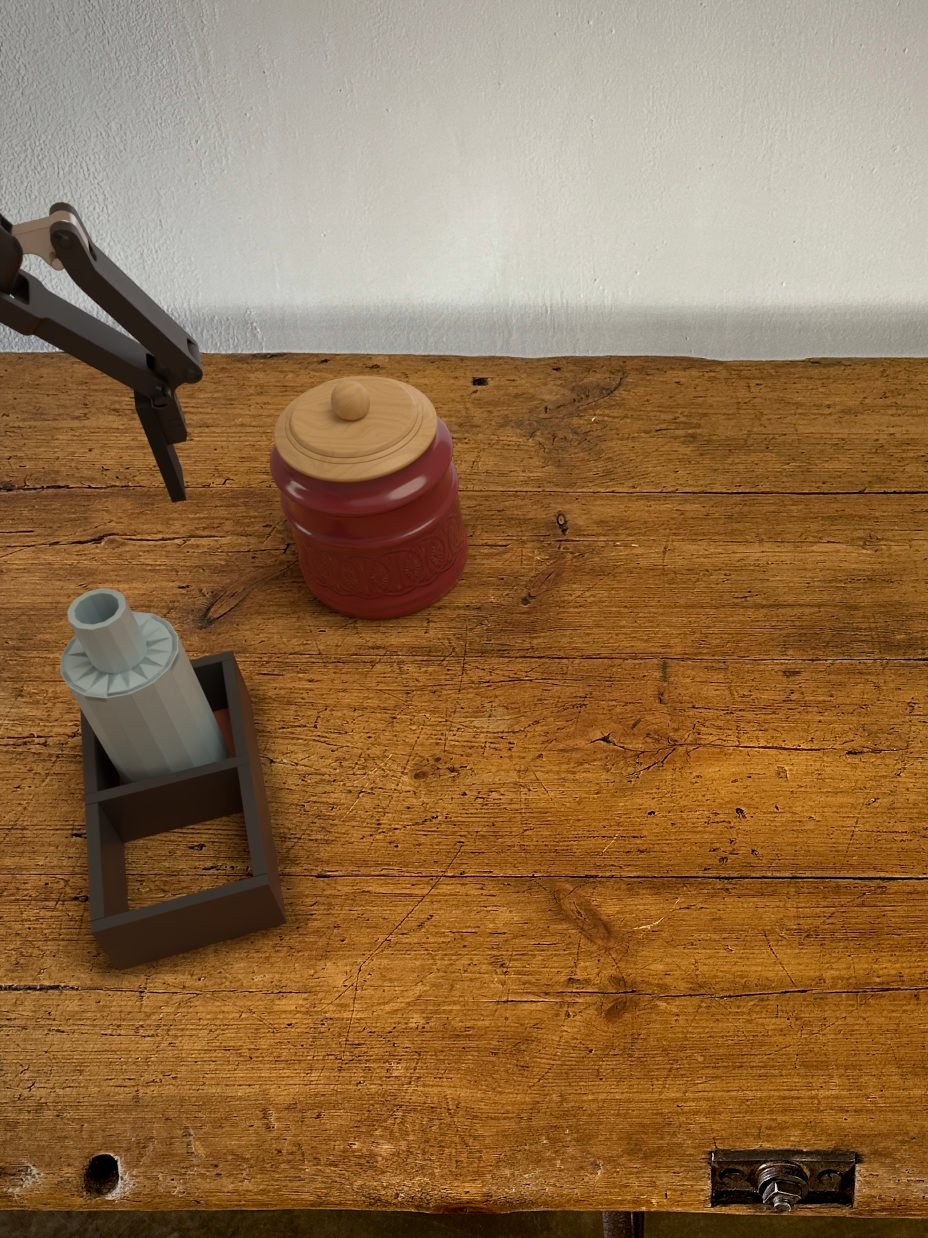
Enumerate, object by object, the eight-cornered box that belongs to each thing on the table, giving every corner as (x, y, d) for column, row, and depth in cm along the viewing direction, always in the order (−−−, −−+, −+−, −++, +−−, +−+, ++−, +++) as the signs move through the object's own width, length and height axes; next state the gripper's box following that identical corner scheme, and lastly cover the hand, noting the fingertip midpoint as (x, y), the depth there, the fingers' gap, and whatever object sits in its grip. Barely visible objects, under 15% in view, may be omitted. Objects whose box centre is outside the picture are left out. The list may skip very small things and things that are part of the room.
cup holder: (107, 735, 85) (78, 685, 81) (252, 700, 87) (232, 649, 83) (123, 976, 73) (90, 933, 69) (289, 928, 76) (268, 883, 71)
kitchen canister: (272, 600, 93) (209, 418, 80) (358, 495, 101) (314, 312, 87) (422, 647, 91) (384, 467, 77) (498, 535, 98) (475, 353, 85)
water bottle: (108, 802, 80) (12, 645, 68) (150, 722, 85) (67, 560, 72) (207, 815, 80) (127, 659, 68) (244, 734, 84) (176, 573, 72)
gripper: (-523, 223, 44) (-213, 610, 61) (179, 132, 50) (289, 509, 67) (-475, 127, 49) (-199, 512, 65) (165, 54, 55) (272, 425, 71)
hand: (48, 511), depth 66 cm, fingers open, 13 cm apart
